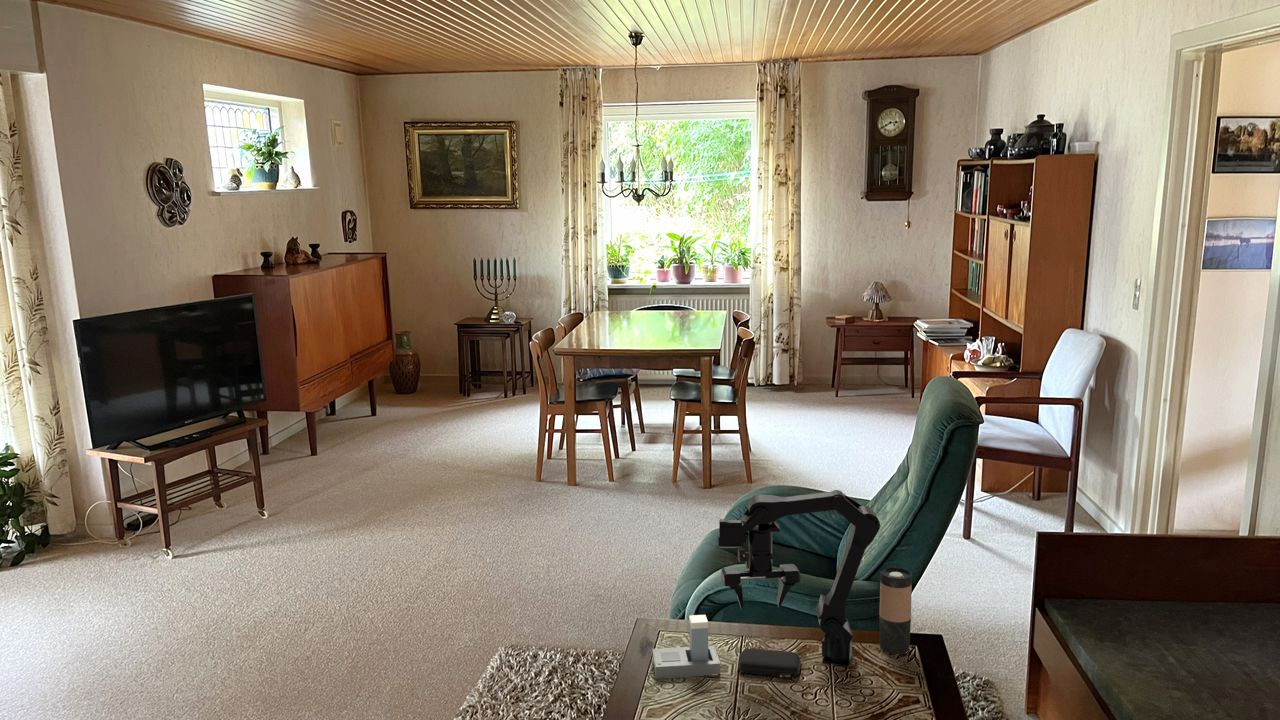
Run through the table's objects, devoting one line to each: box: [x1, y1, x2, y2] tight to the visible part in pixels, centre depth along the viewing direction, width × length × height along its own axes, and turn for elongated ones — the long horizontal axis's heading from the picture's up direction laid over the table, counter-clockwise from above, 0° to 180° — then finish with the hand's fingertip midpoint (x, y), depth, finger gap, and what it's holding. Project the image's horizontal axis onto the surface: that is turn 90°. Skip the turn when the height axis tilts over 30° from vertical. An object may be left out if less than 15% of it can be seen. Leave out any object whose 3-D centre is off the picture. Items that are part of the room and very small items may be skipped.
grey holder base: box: [652, 645, 721, 680], centre depth 214 cm, size 16×9×3 cm, turn 94°
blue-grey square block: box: [688, 614, 709, 662], centre depth 214 cm, size 4×4×12 cm
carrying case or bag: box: [737, 648, 802, 679], centre depth 213 cm, size 11×3×15 cm
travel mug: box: [878, 566, 913, 655], centre depth 221 cm, size 8×8×20 cm
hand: (760, 607), depth 217 cm, fingers open, 9 cm apart
